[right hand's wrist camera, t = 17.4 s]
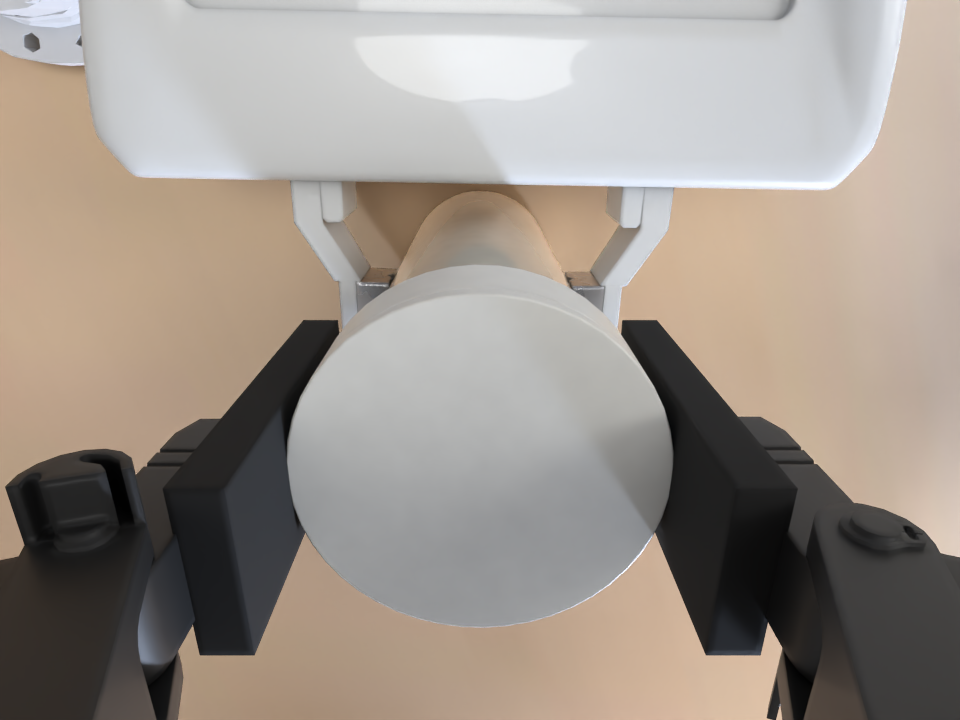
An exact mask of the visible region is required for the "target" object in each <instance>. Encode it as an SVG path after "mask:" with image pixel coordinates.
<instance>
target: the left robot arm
mask: <svg viewBox="0 0 960 720" xmlns="http://www.w3.org/2000/svg"><path fill="white" fill-rule="evenodd" d="M906 4H907V0H79V14H80V27H81V39H82V50H83V59H84V68H85V77H86V84H87V91H88V99H89V106H90V111H91V116H92V121H93V125H94V128H95V132H96V134H97V136H98V138H99V140H100V141H101V142H102V143H103V144H104V145H105V147H106V148H107V149H108V150H109V151H110V152H111V153H112V154H113V155H114V157H115V158H116V159H117V160H118V161H119V162H120V163H121V164H122V165H123V166H124V167H125V168H126V169H127V170H128V171H129V172H130V173H131V174H133V175H134V176H137V177H144V178H191V179H245V180H290V182H291V193H292V204H293V215H294V223H295V224H296V226H297V227H298V229H299V230H300V232H301V233H302V235H303V236H304V238H305V239H306V240H307V242H308V243H309V245H310V246H311V248H312V249H313V251H314V252H315V254H316V255H317V256H318V258H319V259H320V261H321V262H322V264H323V265H324V267H325V268H326V270H327V271H328V273H329V274H330V275H331V277H332V278H333V280H334V281H339V292H340V306H341V320H342V330H343V328H344V327H345V326H346V325H347V323H348V322H349V321H350V320H351V319H352V318H353V317H354V316H355V315H356V314H357V313H358V312H359V311H360V310H361V309H362V308H363V307H364V306H365V305H366V304H368V303H369V302H370V301H372V300H373V299H375V298H376V297H377V296H379V295H380V294H381V293H383V292H384V291H386V290H388V288H389V286H390V285H391V283H392V281H393V279H394V277H395V275H396V269H388V268H370V267H371V266H370V265H369V263H368V261H367V260H366V258H365V256H364V255H363V253H362V251H361V250H360V248H359V246H358V245H357V243H356V241H355V240H354V238H353V236H352V234H351V233H350V231H349V229H348V228H347V226H346V224H345V223H344V221H343V220H344V219H345V218H346V217H347V216H348V215H350V214H351V213H352V212H353V211H354V210H355V209H357V194H356V182H407V183H461V184H515V185H569V186H608V190H607V203H606V213H607V214H608V216H609V217H611V218H612V219H613V220H615V221H616V222H617V223H618V224H620V225H619V226H618V228H617V229H616V231H615V233H614V234H613V236H612V237H611V239H610V240H609V242H608V243H607V245H606V246H605V248H604V249H603V251H602V252H601V254H600V256H599V257H598V259H597V260H596V262H595V263H594V265H593V266H592V268H591V269H590V271H591V272H565V277H566V279H567V281H568V283H569V285H570V287H571V289H572V290H573V291H575V292H576V293H578V294H580V295H581V296H583V297H584V298H586V299H587V300H588V301H589V302H591V303H592V304H593V305H594V306H595V307H597V308H598V309H599V310H600V311H601V312H603V314H604V315H605V316H606V317H607V318H608V319H609V320H610V321H611V322H612V324H613V325H614V326H615V327H616V328H617V327H618V318H619V309H620V299H621V290H622V286H627V284H628V283H629V282H630V280H631V279H632V278H633V276H634V275H635V274H636V272H637V271H638V270H639V268H640V267H641V266H642V264H643V263H644V262H645V260H646V259H647V258H648V256H649V255H650V254H651V252H652V251H653V250H654V248H655V247H656V246H657V244H658V243H659V241H660V240H661V239H662V237H663V236H664V235H665V233H666V232H667V231H668V227H669V220H670V213H671V205H672V198H673V190H674V187H677V188H731V189H785V190H828V189H832V188H834V187H836V186H837V185H838V184H839V183H840V182H842V181H843V180H844V179H845V178H846V177H847V176H848V175H849V174H850V173H851V172H852V171H853V170H854V169H855V168H856V167H857V166H858V165H859V163H860V162H861V161H862V160H863V159H864V158H865V157H866V156H867V155H868V154H869V153H870V151H871V150H872V148H873V146H874V145H875V142H876V140H877V137H878V134H879V132H880V128H881V125H882V121H883V118H884V114H885V110H886V106H887V102H888V98H889V93H890V89H891V84H892V80H893V75H894V70H895V66H896V60H897V55H898V50H899V45H900V40H901V34H902V28H903V22H904V16H905V10H906Z"/></svg>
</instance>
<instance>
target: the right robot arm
mask: <svg viewBox="0 0 960 720" xmlns="http://www.w3.org/2000/svg"><path fill="white" fill-rule="evenodd" d="M338 335H339V327H338V320H303V322H302V323H301V324H300V325H299V326H298V328H297V329H296V330H295V331H294V332H293V334H292V335H291V336H290V337H289V338H288V340H287V341H286V342H285V343H284V344H283V345H282V347H281V348H280V349H279V350H278V351H277V353H276V354H275V355H274V356H273V357H272V359H271V360H270V361H269V362H268V363H267V365H266V366H265V367H264V368H263V369H262V370H261V372H260V373H259V374H258V375H257V376H256V378H255V379H254V380H253V381H252V382H251V384H250V385H249V386H248V387H247V388H246V390H245V391H244V392H243V393H242V394H241V396H240V397H239V398H238V399H237V400H236V401H235V403H234V404H233V405H232V406H231V407H230V409H229V410H228V411H227V412H226V413H225V415H224V416H223V417H222V418H221V419H199V420H198V421H196V422H194V423H192V424H191V425H189V426H187V427H185V428H184V429H182V430H180V431H178V432H176V433H175V434H174V435H173V436H172V437H171V438H170V439H169V441H168V442H167V443H166V444H165V445H164V446H163V447H162V448H161V449H160V453H156V454H155V455H154V456H153V458H152V459H151V460H150V461H149V462H148V463H147V467H143V468H142V469H141V470H140V471H139V472H138V473H137V474H135V470H134V466H133V462H132V458H131V457H129V456H128V455H126V454H125V453H123V452H121V451H115V450H109V449H95V450H83V451H78V452H73V453H69V454H64V455H60V456H57V457H54V458H52V459H49V460H46V461H44V462H41V463H38V464H36V465H34V466H32V467H31V468H29V469H27V470H25V471H24V472H22V473H20V474H18V475H17V476H16V477H15V478H14V479H13V480H12V481H11V482H10V483H9V484H8V485H7V486H6V487H5V488H6V491H7V494H8V497H9V500H10V503H11V506H12V509H13V512H14V515H15V518H16V521H17V524H18V527H19V530H20V533H21V536H22V539H23V542H24V545H25V546H24V548H23V549H22V551H21V553H20V555H19V557H15V558H10V559H5V560H0V720H178V714H179V706H180V699H181V691H182V684H183V672H182V665H181V661H180V656H179V652H178V650H179V648H180V646H181V645H182V643H183V641H184V639H185V637H186V636H187V634H188V632H189V630H190V628H191V627H192V625H193V627H194V631H195V636H196V640H197V644H198V649H199V653H200V655H255V653H256V650H257V648H258V645H259V643H260V641H261V638H262V636H263V633H264V631H265V628H266V626H267V624H268V621H269V619H270V616H271V614H272V612H273V609H274V607H275V604H276V602H277V599H278V597H279V595H280V592H281V590H282V587H283V585H284V583H285V580H286V578H287V575H288V573H289V570H290V568H291V566H292V563H293V561H294V558H295V556H296V554H297V551H298V549H299V546H300V544H301V541H302V539H303V537H304V534H305V531H304V529H303V527H302V526H301V523H300V521H299V518H298V516H297V513H296V511H295V508H294V506H293V502H292V495H291V489H290V482H289V474H288V466H287V439H288V435H289V430H290V426H291V421H292V417H293V415H294V412H295V409H296V407H297V404H298V402H299V399H300V396H301V395H302V393H303V391H304V389H305V388H306V386H307V384H308V382H309V381H310V379H311V377H312V375H313V374H314V372H315V371H316V369H317V368H318V366H319V364H320V363H321V361H322V360H323V358H324V356H325V355H326V353H327V352H328V350H329V349H330V347H331V345H332V344H333V342H334V341H335V339H336V337H337V336H338ZM621 335H622V337H623V338H624V340H625V341H626V343H627V344H628V346H629V347H630V349H631V351H632V352H633V354H634V355H635V357H636V359H637V360H638V362H639V363H640V365H641V367H642V368H643V370H644V371H645V373H646V375H647V376H648V378H649V379H650V381H651V382H652V384H653V386H654V387H655V390H656V392H657V394H658V396H659V398H660V400H661V402H662V404H663V407H664V409H665V412H666V416H667V419H668V423H669V426H670V430H671V437H672V444H673V452H674V455H673V469H672V477H671V484H670V492H669V498H668V501H667V504H666V507H665V510H664V513H663V516H662V518H661V520H660V522H659V524H658V526H657V528H656V530H655V533H656V536H657V538H658V541H659V543H660V545H661V548H662V550H663V553H664V555H665V557H666V560H667V562H668V565H669V567H670V570H671V572H672V574H673V577H674V579H675V582H676V584H677V586H678V589H679V591H680V594H681V596H682V599H683V601H684V603H685V606H686V608H687V611H688V613H689V615H690V618H691V620H692V623H693V625H694V628H695V630H696V632H697V635H698V637H699V640H700V642H701V644H702V647H703V649H704V652H705V654H706V655H761V651H762V646H763V642H764V637H765V633H766V629H767V624H768V623H769V624H770V626H771V628H772V630H773V632H774V633H775V635H776V637H777V639H778V640H779V642H780V644H781V646H782V652H781V656H780V661H779V665H778V669H777V673H776V677H775V681H774V685H773V690H772V694H771V698H770V702H769V707H768V714H767V718H768V719H772V720H776V717H777V713H778V709H779V707H780V706H781V712H782V720H960V557H955V556H950V555H945V554H941V553H940V552H939V550H938V548H937V546H936V544H935V543H934V542H933V541H932V540H931V539H930V537H929V536H928V535H927V534H926V533H925V532H924V531H923V530H922V529H920V528H919V527H917V526H916V525H914V524H913V523H911V522H910V521H908V520H907V519H905V518H903V517H900V516H898V515H896V514H893V513H891V512H889V511H886V510H884V509H880V508H876V507H872V506H868V505H864V504H858V503H853V502H852V501H851V499H850V498H849V497H848V496H847V495H846V494H845V493H844V492H843V491H842V490H841V489H840V488H839V487H838V486H837V485H836V484H835V483H834V482H833V481H832V479H831V478H830V477H829V476H828V475H827V474H826V473H825V472H824V471H823V470H822V469H821V468H820V467H819V466H818V465H817V464H814V461H813V459H812V458H811V457H810V456H809V455H808V454H807V453H806V452H805V451H804V450H801V447H800V446H799V445H798V444H797V443H796V442H795V441H794V440H793V438H792V437H791V436H790V435H789V434H788V433H787V432H786V431H785V430H783V429H781V428H779V427H778V426H776V425H774V424H772V423H770V422H769V421H767V420H765V419H763V418H761V417H738V416H737V415H736V414H735V413H734V412H733V410H732V409H731V408H730V407H729V406H728V405H727V403H726V402H725V401H724V400H723V399H722V397H721V396H720V395H719V394H718V393H717V391H716V390H715V389H714V388H713V387H712V385H711V384H710V383H709V382H708V381H707V380H706V378H705V377H704V376H703V375H702V374H701V372H700V371H699V370H698V369H697V368H696V366H695V365H694V364H693V363H692V362H691V360H690V359H689V358H688V357H687V356H686V354H685V353H684V352H683V351H682V350H681V349H680V347H679V346H678V345H677V344H676V343H675V341H674V340H673V339H672V338H671V337H670V335H669V334H668V333H667V332H666V331H665V329H664V328H663V327H662V326H661V325H660V324H659V322H658V321H657V320H622V332H621Z"/></svg>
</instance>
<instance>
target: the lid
mask: <svg viewBox="0 0 960 720" xmlns="http://www.w3.org/2000/svg"><path fill="white" fill-rule="evenodd" d="M673 455H674V452H673V444H672V437H671V430H670V426H669V423H668V419H667V416H666V412H665V409H664V407H663V404H662V402H661V400H660V398H659V396H658V394H657V392H656V390H655V387H654V386H653V384H652V382H651V381H650V379H649V378H648V376H647V375H646V373H645V371H644V370H643V368H642V367H641V365H640V363H639V362H638V360H637V359H636V357H635V355H634V354H633V352H632V351H631V349H630V347H629V346H628V344H627V343H626V341H625V340H624V338H623V337H622V335H621V334H620V332H619V331H618V329H617V328H616V327H615V326H614V325H613V324H612V322H611V321H610V320H609V319H608V318H607V317H606V316H605V315H604V314H603V312H601V311H600V310H599V309H598V308H597V307H595V306H594V305H593V304H592V303H591V302H589V301H588V300H587V299H586V298H584V297H583V296H581V295H580V294H578V293H576V292H575V291H573V290H572V289H570V288H569V287H567V286H565V285H563V284H561V283H558V282H556V281H554V280H552V279H550V278H547V277H545V276H542V275H539V274H536V273H532V272H529V271H526V270H522V269H517V268H511V267H505V266H499V265H465V266H455V267H448V268H443V269H439V270H435V271H430V272H426V273H424V274H421V275H418V276H416V277H413V278H410V279H407V280H405V281H403V282H401V283H399V284H397V285H395V286H394V287H392V288H390V289H388V290H386V291H384V292H383V293H381V294H380V295H379V296H377V297H376V298H375V299H373V300H372V301H370V302H369V303H368V304H366V305H365V306H364V307H363V308H362V309H361V310H360V311H359V312H358V313H357V314H356V315H355V316H354V317H353V318H352V319H351V320H350V321H349V322H348V323H347V325H346V326H345V327H344V328H343V330H342V331H341V332H340V333H339V335H338V336H337V337H336V339H335V341H334V342H333V344H332V345H331V347H330V349H329V350H328V352H327V353H326V355H325V356H324V358H323V360H322V361H321V363H320V364H319V366H318V368H317V369H316V371H315V372H314V374H313V375H312V377H311V379H310V381H309V382H308V384H307V386H306V388H305V389H304V391H303V393H302V395H301V396H300V399H299V402H298V404H297V407H296V409H295V412H294V415H293V417H292V421H291V426H290V430H289V435H288V439H287V466H288V474H289V482H290V489H291V495H292V502H293V506H294V508H295V511H296V513H297V516H298V518H299V521H300V523H301V526H302V527H303V529H304V531H305V533H306V534H307V536H308V538H309V539H310V541H311V543H312V545H313V546H314V547H315V548H316V550H317V551H318V552H319V554H320V555H321V556H322V557H323V559H324V560H325V561H326V562H327V563H328V564H329V565H330V566H331V567H332V568H333V569H334V570H335V571H336V572H337V573H338V574H339V575H340V576H341V577H342V578H343V579H344V580H346V581H347V582H348V583H349V584H351V585H352V586H353V587H354V588H356V589H357V590H358V591H360V592H362V593H363V594H365V595H366V596H368V597H370V598H371V599H373V600H375V601H376V602H378V603H380V604H382V605H384V606H386V607H389V608H391V609H393V610H395V611H397V612H400V613H403V614H406V615H409V616H412V617H414V618H417V619H421V620H425V621H430V622H434V623H438V624H444V625H452V626H460V627H499V626H510V625H515V624H521V623H527V622H531V621H535V620H538V619H542V618H545V617H549V616H552V615H555V614H557V613H560V612H562V611H565V610H567V609H570V608H572V607H574V606H576V605H578V604H580V603H581V602H583V601H585V600H587V599H589V598H591V597H592V596H594V595H595V594H597V593H598V592H600V591H601V590H603V589H604V588H605V587H607V586H608V585H610V584H611V583H612V582H613V581H614V580H615V579H617V578H618V577H619V576H620V575H621V574H622V573H623V572H625V571H626V570H627V569H628V567H629V566H630V565H631V564H632V563H633V562H634V561H635V560H636V559H637V557H638V556H639V555H640V554H641V553H642V551H643V550H644V548H645V547H646V545H647V544H648V542H649V541H650V539H651V538H652V536H653V534H654V532H655V530H656V528H657V526H658V524H659V522H660V520H661V518H662V516H663V513H664V510H665V507H666V504H667V501H668V498H669V492H670V484H671V477H672V469H673Z"/></svg>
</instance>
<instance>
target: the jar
mask: <svg viewBox="0 0 960 720" xmlns="http://www.w3.org/2000/svg"><path fill="white" fill-rule="evenodd" d="M465 265H499V266H505V267H511V268H517V269H522V270H526V271H529V272H532V273H536V274H539V275H542V276H545V277H547V278H550V279H552V280H554V281H556V282H558V283H561V284H563V285H565V286H567V287H569V288H570V289H571V287H570V285H569V283H568V281H567V279H566V277H565V275H564V273H563V271H562V269H561V267H560V265H559V263H558V261H557V260H556V258H555V256H554V254H553V252H552V250H551V248H550V246H549V244H548V242H547V240H546V238H545V236H544V234H543V232H542V230H541V228H540V226H539V224H538V223H537V221H536V220H535V218H534V217H533V216H532V214H531V213H530V212H529V211H528V210H527V209H526V208H525V207H523V206H522V205H521V204H520V203H518V202H517V201H515V200H513V199H512V198H509V197H507V196H505V195H502V194H499V193H495V192H490V191H470V192H465V193H461V194H458V195H455V196H453V197H450V198H449V199H447V200H445V201H443V202H442V203H440V204H439V205H438V206H437V207H435V208H434V209H433V210H432V211H431V212H430V213H429V214H428V216H427V217H426V218H425V220H424V221H423V223H422V225H421V226H420V228H419V230H418V232H417V234H416V236H415V238H414V240H413V242H412V244H411V246H410V248H409V250H408V251H407V253H406V255H405V257H404V259H403V261H402V263H401V265H400V267H399V269H398V271H397V273H396V275H395V277H394V279H393V281H392V283H391V285H390V286H389V288H388V289H390V288H392V287H394V286H395V285H397V284H399V283H401V282H403V281H405V280H407V279H410V278H413V277H416V276H418V275H421V274H424V273H426V272H430V271H435V270H439V269H443V268H448V267H455V266H465Z"/></svg>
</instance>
